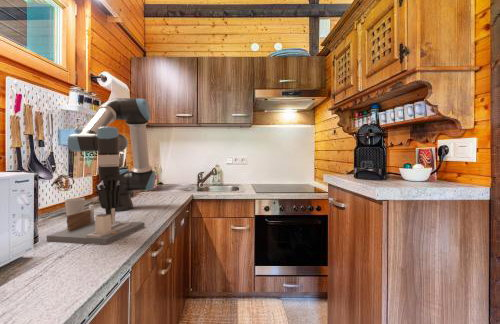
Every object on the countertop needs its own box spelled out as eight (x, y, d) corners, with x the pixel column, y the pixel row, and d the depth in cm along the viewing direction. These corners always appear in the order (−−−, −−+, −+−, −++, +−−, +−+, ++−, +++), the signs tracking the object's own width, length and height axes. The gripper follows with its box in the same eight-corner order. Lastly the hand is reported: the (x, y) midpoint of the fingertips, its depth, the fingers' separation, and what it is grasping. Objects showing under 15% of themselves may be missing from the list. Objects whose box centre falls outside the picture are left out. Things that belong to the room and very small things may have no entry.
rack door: (90, 223, 123) (90, 209, 123) (69, 230, 112) (69, 215, 112) (85, 223, 124) (85, 209, 123) (64, 230, 112) (63, 215, 112)
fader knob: (103, 231, 110) (102, 213, 110) (111, 231, 109) (110, 213, 109) (95, 234, 106) (95, 215, 106) (103, 234, 105) (103, 215, 105)
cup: (76, 227, 124) (75, 201, 124) (61, 227, 126) (60, 200, 125) (89, 223, 132) (88, 198, 132) (75, 222, 134) (74, 197, 133)
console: (94, 224, 129) (93, 203, 129) (144, 226, 124) (143, 204, 124) (46, 240, 106) (45, 214, 105) (106, 244, 100) (105, 217, 100)
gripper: (112, 165, 118) (113, 220, 119) (88, 166, 105) (90, 228, 106) (127, 165, 116) (129, 220, 117) (105, 166, 104) (107, 229, 104)
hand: (111, 224), depth 111 cm, fingers closed
